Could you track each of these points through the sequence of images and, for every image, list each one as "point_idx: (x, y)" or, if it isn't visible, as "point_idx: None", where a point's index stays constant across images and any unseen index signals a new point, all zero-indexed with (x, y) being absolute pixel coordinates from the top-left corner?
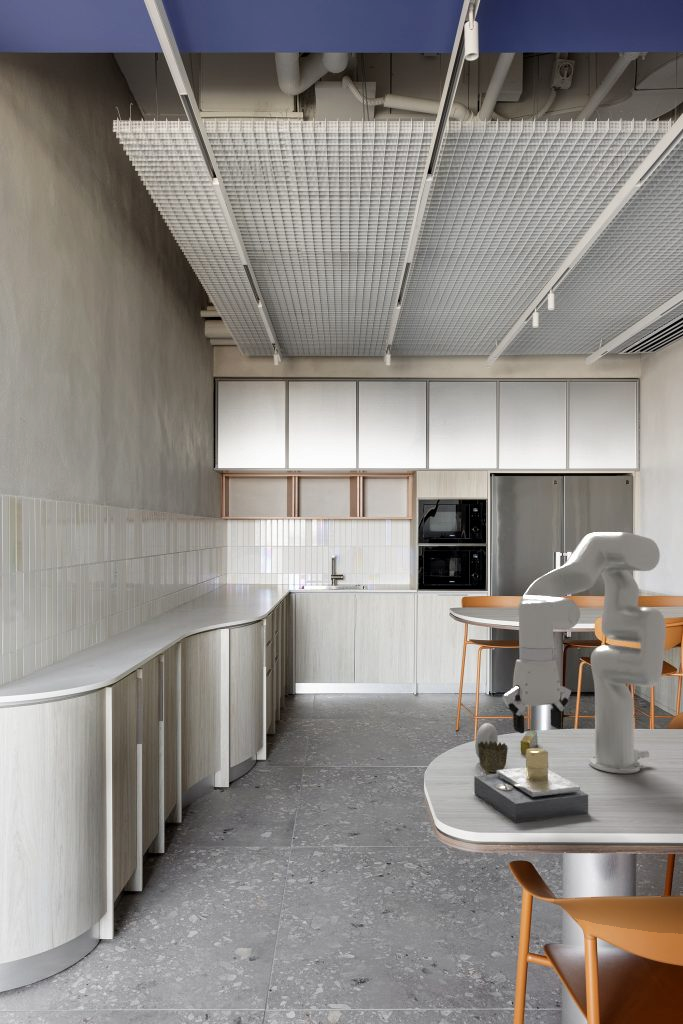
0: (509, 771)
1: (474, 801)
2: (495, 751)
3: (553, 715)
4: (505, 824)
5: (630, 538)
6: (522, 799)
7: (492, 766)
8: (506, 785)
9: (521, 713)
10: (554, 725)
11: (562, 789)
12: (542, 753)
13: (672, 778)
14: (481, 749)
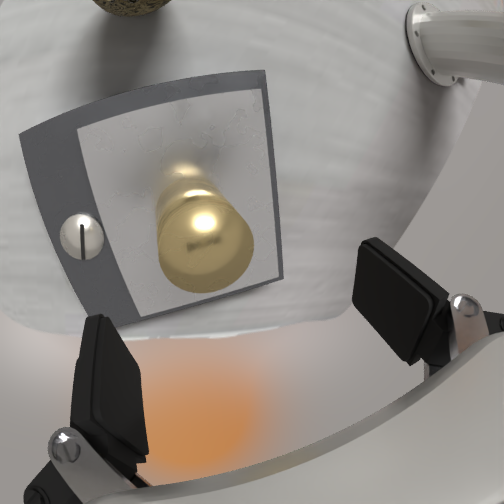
0: (118, 141)
1: (29, 187)
2: (119, 2)
3: (398, 308)
4: (82, 309)
5: None
6: (115, 310)
7: (117, 14)
8: (88, 228)
9: (134, 473)
10: (361, 278)
11: (227, 291)
12: (219, 279)
13: (462, 125)
14: None
